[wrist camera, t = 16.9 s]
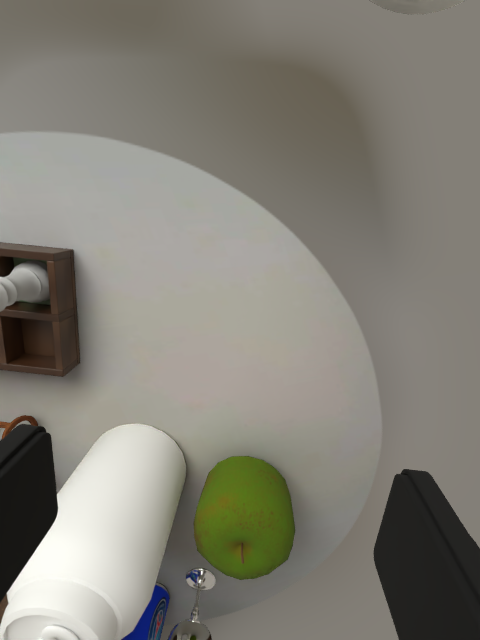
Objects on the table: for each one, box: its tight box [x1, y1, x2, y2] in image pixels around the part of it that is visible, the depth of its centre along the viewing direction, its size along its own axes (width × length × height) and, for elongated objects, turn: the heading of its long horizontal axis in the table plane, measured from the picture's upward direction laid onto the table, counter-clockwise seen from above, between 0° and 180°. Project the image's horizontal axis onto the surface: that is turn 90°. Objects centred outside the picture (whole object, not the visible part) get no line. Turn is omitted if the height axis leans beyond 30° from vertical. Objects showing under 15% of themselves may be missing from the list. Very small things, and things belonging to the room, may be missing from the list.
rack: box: [0, 242, 80, 377], centre depth 37 cm, size 13×13×4 cm
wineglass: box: [168, 568, 216, 640], centre depth 44 cm, size 6×6×12 cm
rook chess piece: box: [0, 260, 50, 312], centre depth 33 cm, size 4×4×8 cm
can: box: [0, 423, 187, 640], centre depth 35 cm, size 12×12×20 cm
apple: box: [194, 456, 295, 580], centre depth 39 cm, size 11×11×11 cm
